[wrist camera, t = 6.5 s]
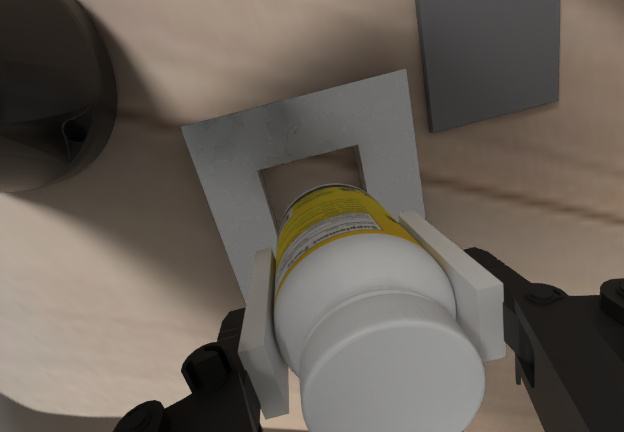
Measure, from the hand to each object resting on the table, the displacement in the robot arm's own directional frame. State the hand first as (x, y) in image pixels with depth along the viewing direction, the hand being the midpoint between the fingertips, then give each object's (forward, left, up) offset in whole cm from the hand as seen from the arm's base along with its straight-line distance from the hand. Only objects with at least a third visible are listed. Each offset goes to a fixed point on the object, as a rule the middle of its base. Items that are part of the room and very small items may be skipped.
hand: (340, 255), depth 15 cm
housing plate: (0, 0, -12) cm, 12 cm away
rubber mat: (+15, +8, -12) cm, 20 cm away
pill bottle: (0, 0, -3) cm, 3 cm away
